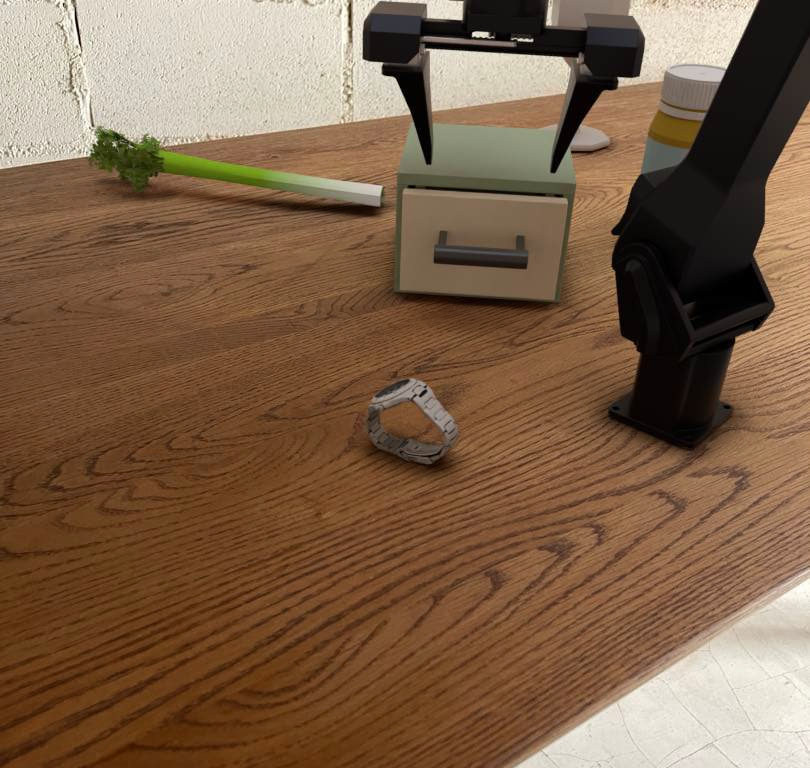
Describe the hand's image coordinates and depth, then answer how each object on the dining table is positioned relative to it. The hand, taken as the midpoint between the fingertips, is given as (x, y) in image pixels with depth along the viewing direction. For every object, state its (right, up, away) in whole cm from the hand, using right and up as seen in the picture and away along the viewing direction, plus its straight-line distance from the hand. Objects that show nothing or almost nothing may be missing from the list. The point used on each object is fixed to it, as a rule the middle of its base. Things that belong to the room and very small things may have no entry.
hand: (490, 167), depth 69 cm
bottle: (+18, 0, +18) cm, 26 cm away
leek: (-23, +7, +25) cm, 35 cm away
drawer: (0, -5, +9) cm, 11 cm away
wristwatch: (-6, -22, -10) cm, 25 cm away
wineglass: (+14, +20, +43) cm, 49 cm away
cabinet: (0, -3, +14) cm, 14 cm away
